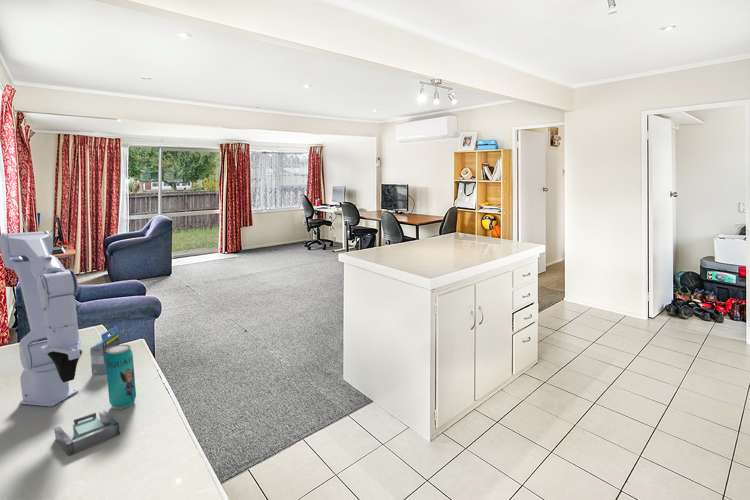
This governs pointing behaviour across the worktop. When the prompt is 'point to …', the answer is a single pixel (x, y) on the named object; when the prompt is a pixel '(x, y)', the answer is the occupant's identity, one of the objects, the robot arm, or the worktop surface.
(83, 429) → the mint cube with handle
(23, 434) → the worktop surface
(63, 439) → the bay
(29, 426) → the worktop surface
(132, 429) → the worktop surface
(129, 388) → the beverage can
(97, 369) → the label tape box
